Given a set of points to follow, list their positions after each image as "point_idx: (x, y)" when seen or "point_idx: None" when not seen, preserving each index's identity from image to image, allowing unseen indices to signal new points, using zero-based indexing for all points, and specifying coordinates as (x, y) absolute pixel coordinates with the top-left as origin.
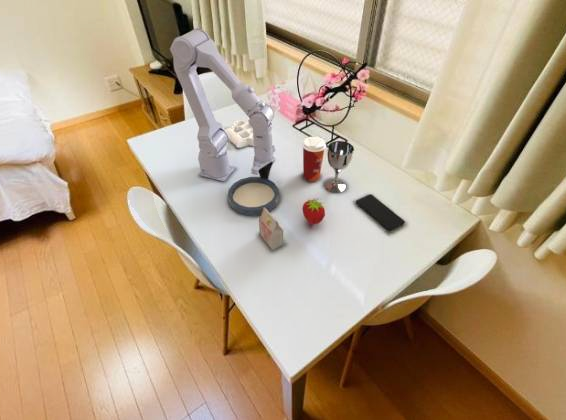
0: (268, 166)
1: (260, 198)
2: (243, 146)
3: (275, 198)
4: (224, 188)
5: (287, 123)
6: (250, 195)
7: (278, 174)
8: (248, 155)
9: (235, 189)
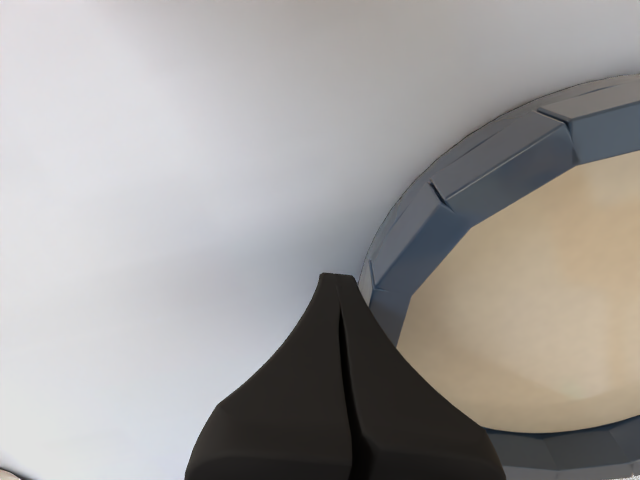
0: (440, 478)
1: (633, 263)
2: (8, 477)
3: None
4: None
5: None
6: (576, 342)
7: (173, 191)
8: (71, 434)
9: (501, 435)
